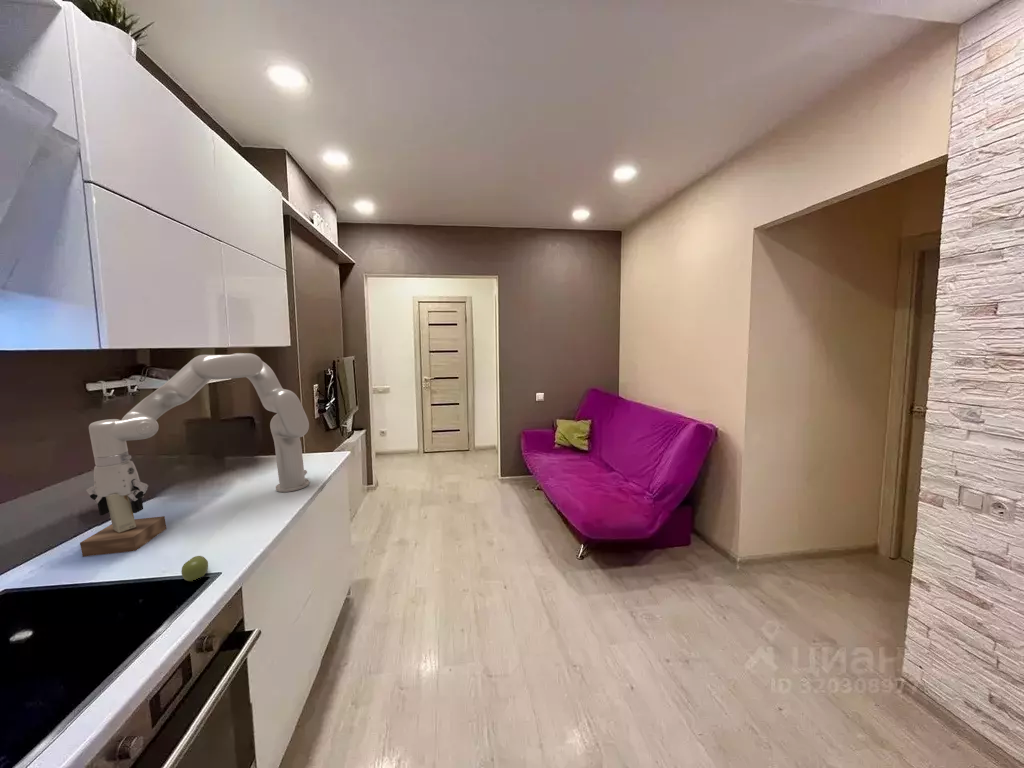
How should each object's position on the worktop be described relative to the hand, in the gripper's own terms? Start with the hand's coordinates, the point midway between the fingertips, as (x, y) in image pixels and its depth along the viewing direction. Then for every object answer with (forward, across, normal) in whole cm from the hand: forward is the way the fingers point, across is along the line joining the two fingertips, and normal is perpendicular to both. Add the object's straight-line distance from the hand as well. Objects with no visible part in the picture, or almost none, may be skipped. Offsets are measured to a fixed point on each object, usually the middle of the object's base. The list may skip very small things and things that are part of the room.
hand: (121, 512), depth 128 cm
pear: (+10, -36, +22) cm, 43 cm away
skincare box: (+6, 0, 0) cm, 6 cm away
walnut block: (+10, 0, 0) cm, 10 cm away
